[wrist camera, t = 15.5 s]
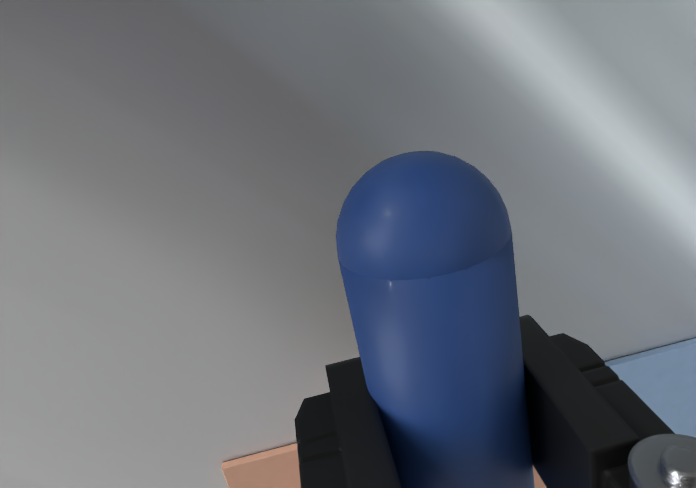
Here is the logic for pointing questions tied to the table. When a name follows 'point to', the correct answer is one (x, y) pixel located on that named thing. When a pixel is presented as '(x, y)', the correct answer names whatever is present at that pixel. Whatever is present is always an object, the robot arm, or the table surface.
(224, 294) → the table surface
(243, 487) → the terracotta mat
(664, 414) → the blue mat
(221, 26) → the table surface
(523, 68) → the table surface
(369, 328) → the blue spoon
